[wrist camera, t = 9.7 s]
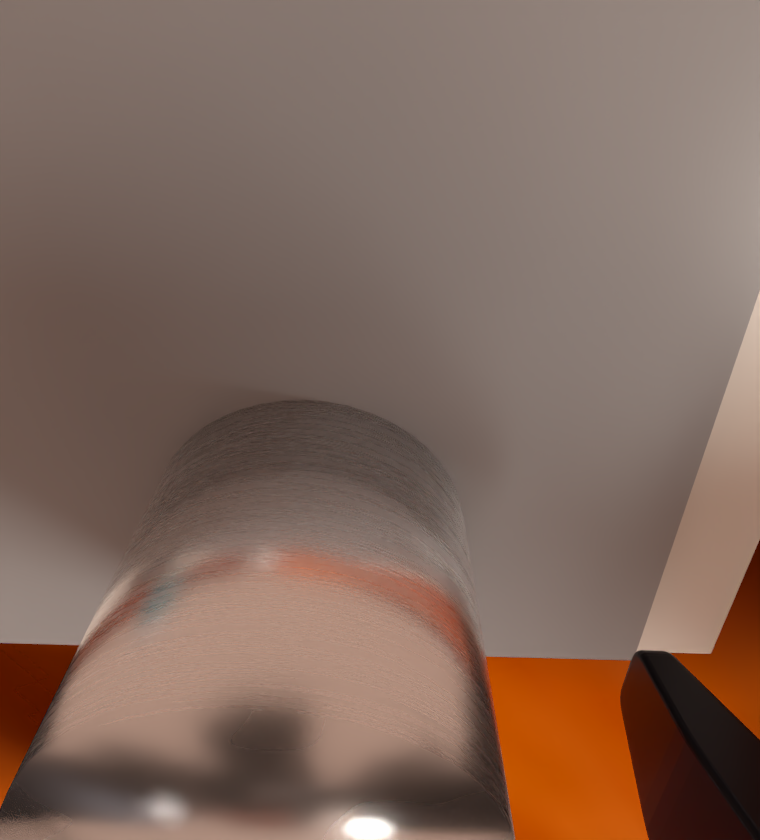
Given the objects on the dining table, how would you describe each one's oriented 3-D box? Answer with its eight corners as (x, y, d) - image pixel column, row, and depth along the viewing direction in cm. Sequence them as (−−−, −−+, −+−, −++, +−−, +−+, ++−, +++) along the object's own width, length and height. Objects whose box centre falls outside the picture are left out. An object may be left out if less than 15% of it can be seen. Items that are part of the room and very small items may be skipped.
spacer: (479, 406, 10) (557, 717, 5) (449, 643, 12) (485, 982, 8) (132, 394, 9) (-78, 702, 5) (175, 635, 12) (59, 974, 8)
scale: (996, -477, 8) (1439, -839, 5) (657, 552, 16) (728, 687, 13) (-921, -575, 8) (-1931, -1039, 4) (-267, 524, 16) (-438, 656, 12)
